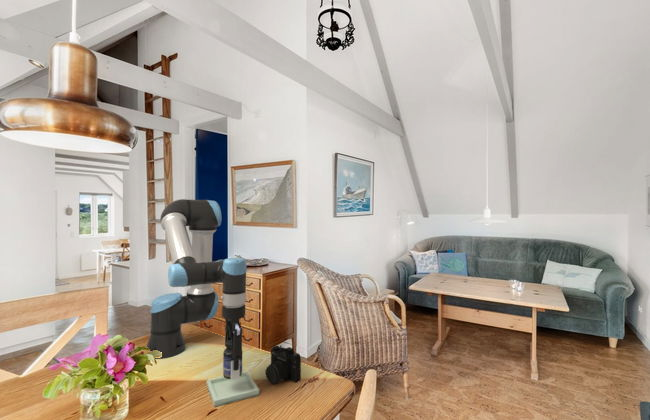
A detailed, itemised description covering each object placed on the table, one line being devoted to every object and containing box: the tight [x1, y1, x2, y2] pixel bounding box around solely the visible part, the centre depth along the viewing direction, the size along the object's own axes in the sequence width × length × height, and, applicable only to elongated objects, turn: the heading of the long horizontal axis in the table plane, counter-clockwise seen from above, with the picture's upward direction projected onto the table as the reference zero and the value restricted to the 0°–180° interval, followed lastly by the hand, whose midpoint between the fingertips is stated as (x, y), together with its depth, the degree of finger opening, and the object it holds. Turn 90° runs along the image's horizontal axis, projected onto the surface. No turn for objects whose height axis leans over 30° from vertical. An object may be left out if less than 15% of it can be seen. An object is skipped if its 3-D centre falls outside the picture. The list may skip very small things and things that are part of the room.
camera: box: [264, 345, 302, 385], centre depth 116 cm, size 14×11×10 cm
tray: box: [206, 370, 260, 408], centre depth 108 cm, size 14×14×2 cm
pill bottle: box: [222, 340, 243, 379], centre depth 108 cm, size 6×6×11 cm
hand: (232, 374), depth 107 cm, fingers closed on pill bottle, 6 cm apart
